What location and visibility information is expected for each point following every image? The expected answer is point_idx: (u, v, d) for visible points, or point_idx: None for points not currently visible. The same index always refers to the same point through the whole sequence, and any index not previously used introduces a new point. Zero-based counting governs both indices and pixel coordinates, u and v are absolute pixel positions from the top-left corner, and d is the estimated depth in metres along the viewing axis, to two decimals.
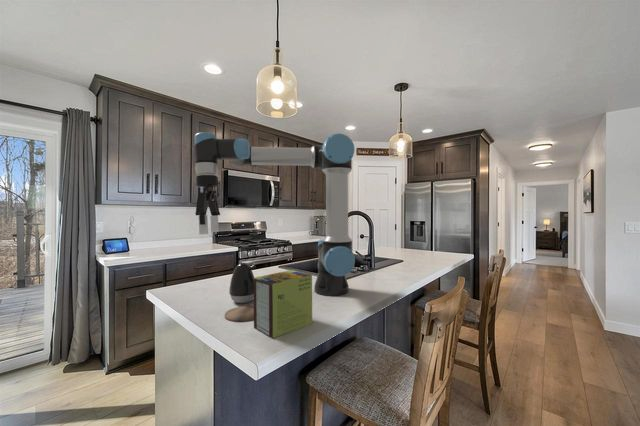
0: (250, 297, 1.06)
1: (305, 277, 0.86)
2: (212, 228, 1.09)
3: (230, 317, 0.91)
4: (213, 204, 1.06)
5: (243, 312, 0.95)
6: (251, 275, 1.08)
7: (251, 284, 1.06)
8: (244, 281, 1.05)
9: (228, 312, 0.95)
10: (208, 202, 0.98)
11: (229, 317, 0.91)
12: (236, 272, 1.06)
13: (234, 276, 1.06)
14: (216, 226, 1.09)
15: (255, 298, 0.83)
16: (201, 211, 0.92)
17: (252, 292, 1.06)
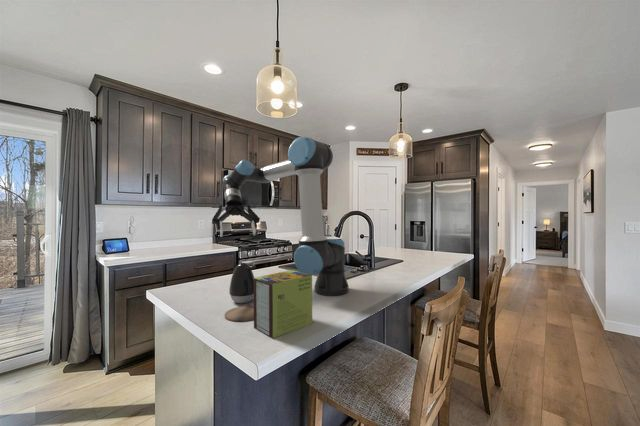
0: (250, 297, 1.06)
1: (305, 277, 0.86)
2: (253, 232, 1.22)
3: (230, 317, 0.91)
4: (245, 214, 1.26)
5: (243, 312, 0.95)
6: (251, 275, 1.08)
7: (251, 284, 1.06)
8: (244, 281, 1.05)
9: (228, 312, 0.95)
10: (226, 213, 1.22)
11: (229, 317, 0.91)
12: (236, 272, 1.06)
13: (234, 276, 1.06)
14: (253, 228, 1.21)
15: (255, 298, 0.83)
16: (212, 220, 1.18)
17: (252, 292, 1.06)
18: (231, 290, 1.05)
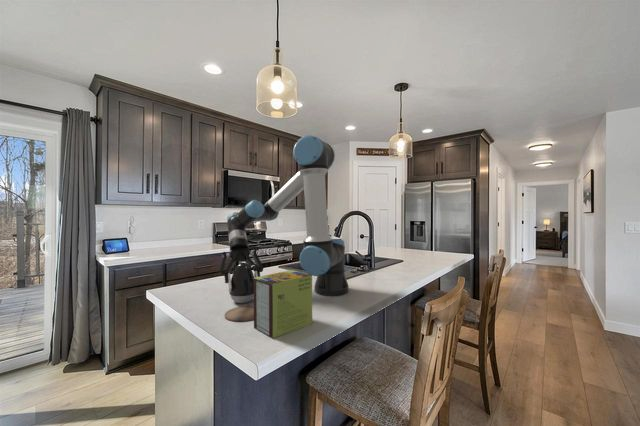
0: (250, 297, 1.06)
1: (305, 277, 0.86)
2: None
3: (230, 317, 0.91)
4: (249, 261, 1.14)
5: (243, 312, 0.95)
6: (251, 275, 1.08)
7: (251, 284, 1.06)
8: (244, 281, 1.05)
9: (228, 312, 0.95)
10: (233, 261, 1.11)
11: (229, 317, 0.91)
12: (236, 272, 1.06)
13: (234, 276, 1.06)
14: None
15: (255, 298, 0.83)
16: None
17: (252, 292, 1.06)
18: (231, 290, 1.05)
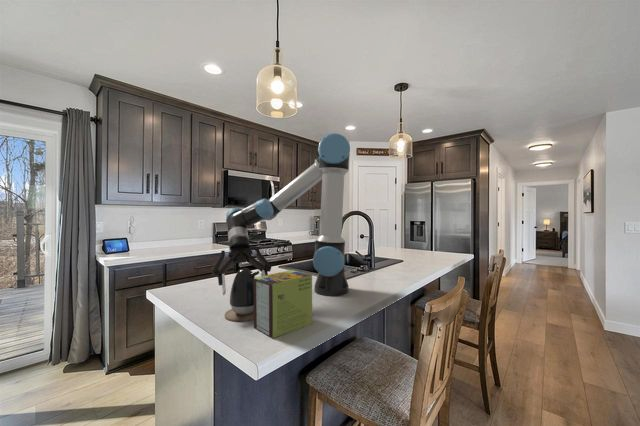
0: (253, 307, 0.93)
1: (305, 277, 0.86)
2: None
3: (230, 317, 0.91)
4: (253, 261, 1.01)
5: None
6: None
7: None
8: (246, 289, 0.91)
9: (228, 312, 0.95)
10: (230, 262, 0.98)
11: (229, 317, 0.91)
12: (237, 279, 0.92)
13: (235, 284, 0.92)
14: None
15: (255, 298, 0.83)
16: (212, 272, 0.94)
17: None
18: (232, 300, 0.92)
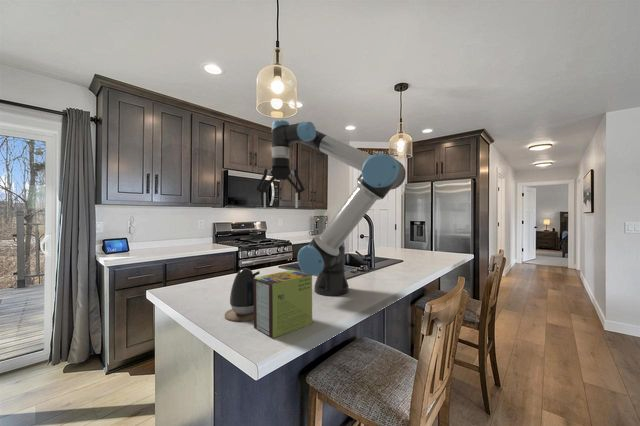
0: (253, 308, 0.93)
1: (305, 277, 0.86)
2: None
3: (230, 317, 0.91)
4: (290, 182, 1.19)
5: None
6: None
7: None
8: (246, 289, 0.91)
9: (228, 312, 0.95)
10: (271, 181, 1.17)
11: (229, 317, 0.91)
12: (237, 279, 0.93)
13: (235, 284, 0.92)
14: (296, 202, 1.19)
15: (255, 298, 0.83)
16: None
17: None
18: (232, 300, 0.92)
